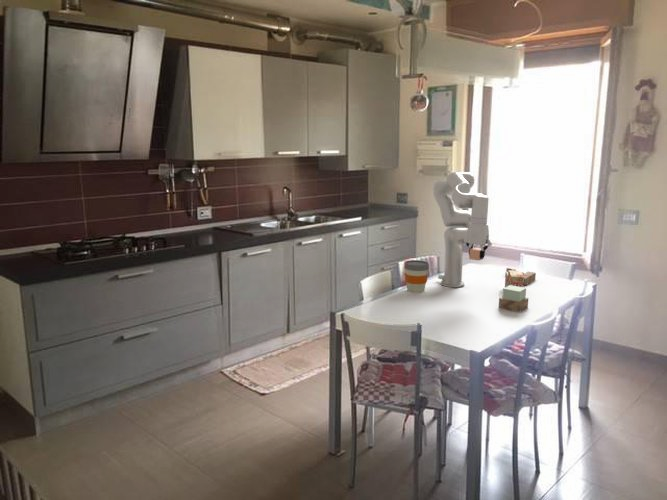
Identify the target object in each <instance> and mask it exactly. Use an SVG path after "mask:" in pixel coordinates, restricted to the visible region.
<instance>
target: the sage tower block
mask: <svg viewBox="0 0 667 500" xmlns="http://www.w3.org/2000/svg"><path fill="white" fill-rule="evenodd" d="M526 295H527V287H518V286H512V285H509V286H507V287H505V286H504V287H503V288H502V297H503V299H506V300H511V301H516V302H520V301H522V300H523V299H525V298H527V297H526Z"/></svg>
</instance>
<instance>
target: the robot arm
mask: <svg viewBox="0 0 667 500" xmlns="http://www.w3.org/2000/svg"><path fill="white" fill-rule="evenodd" d="M474 185H475V177H474V175H473V173H471V172H468V171H456V172H455V171H454V172H450V173H449V174H448V175H447V176H446V178H445V179H440V180H437V181H435V182H434V183H433V189H432V190H433V195H434V199H435V202H436V203H437V205H438V207H439V210H440V215H441V219H442V222H443V225H444V226H445V227H446V228H447V229H446V230H445V231H444V234H443V237H444V246H445V247H444V248H445V249H444V250H445V251H444V268H443V270H444V272H443V274H438V276H437V279H440V280H441V281H440V284H441V286H444V287H448V288H462V287H464V286H465V282H464V281H462V280H463V278H462V277H463V261H464V253H463V250H462V249H461V248H460V246H467V248H468V255H470V249H472V248H474V246H475V245H477V246H478V245H479V246H480V248H481V251H480V259H482V258H483V259H484V258H485V257H486V256H485V255H486V250H488V249H489V248H490V247H491V246H492V245H493V244H492V242H491V240H490V238H489V237H490V230H489V224H488V211H489V210H488V209H489V197H488V196H487V195H484V194H483V193H480V192H471V189H472V188H473V186H474ZM449 196H451V198H450V197H449ZM457 208H459V209H460V210H458V209H457ZM461 209H462V210H461ZM465 209H471V211H469V210H465ZM483 259H482V260H483Z"/></svg>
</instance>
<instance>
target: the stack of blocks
mask: <svg viewBox="0 0 667 500" xmlns="http://www.w3.org/2000/svg"><path fill="white" fill-rule="evenodd" d="M522 272H523V271H521V270H516V271H512V270H508V272H506V271H505V273H504V274H505V280H504V288H505V287H507V286H509V285H512V286H518V287H523V288H525V286H524V276H523V274H522Z"/></svg>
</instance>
